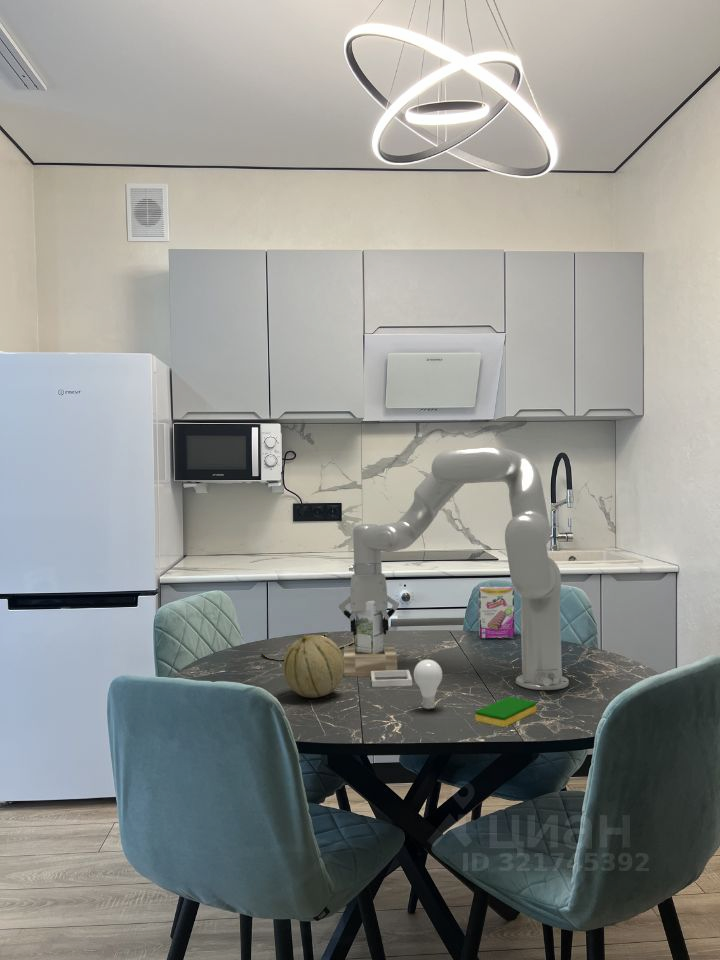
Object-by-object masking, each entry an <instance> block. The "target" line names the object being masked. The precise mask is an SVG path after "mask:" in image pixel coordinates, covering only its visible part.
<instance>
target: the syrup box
mask: <svg viewBox="0 0 720 960" xmlns="http://www.w3.org/2000/svg"><path fill="white" fill-rule="evenodd" d="M365 603H366V611H365V612H358V613H357V614H356V616H355V620H356V635H355V646H356V652H358V653H364V654H377V653H380V652H382V651H383V645H384V634H383V618H384V616H383V614H382V613H381V612H376V602H375V601H368V602H365Z"/></svg>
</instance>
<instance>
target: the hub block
mask: <svg viewBox="0 0 720 960" xmlns="http://www.w3.org/2000/svg"><path fill="white" fill-rule="evenodd" d="M343 657H344V662H345V669H344V675H343V677H344V676H345V677H368V676H369V677H371V671H387V670H398V656H397V651H396V647H395V645H394V644H383V651H382V652H380V653H377V654H364V653H358V652H356V645H350V646H344V648H343Z"/></svg>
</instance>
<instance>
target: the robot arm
mask: <svg viewBox="0 0 720 960" xmlns="http://www.w3.org/2000/svg"><path fill="white" fill-rule="evenodd" d="M479 483H480V484H481V483H505V484H506V486H507V487H508V488H507V489H508V497H509V505H510V509H511V517H512V518H511V519H510V520H509V521H508V523H507V524H506V527H505V530H504V543H505V549H506V556H507V562H508V568H509V576H510V580H511V584H512V586H513V587H512V588H513V589H514V591H515V592H516V593H517V594H518V595H519V596H521V597H520V633H521V634H520V638H521V639H520V641H521V671H522V672H521V674H519V675H518V676H517V677H516V678H515V682H516V685H518V686H519V687H521V688H524V689H528V690H536V691H538V690H539V691H554V690H555V691H556V690H561V689H562V690H563V689H565V688H568V686H569V684H570V683H569V682H570V681H569V678H567V677H565V676H563V669H562V668H563V666H562V664H563V663H562V662H563V661H562V636H561V635H562V634H561V633H562V632H561V631H562V630H561V590H562V589H561V588H562V576H561V572H560V568H559V565H557V562H555V561H554V559H553V558H550V557H549V553H548V547H547V545H548V543H549V542H550V540H551V535H552V531H551V526H550V525H551V524H550V521H549V517H548V516H549V515H548V510H547V503H546V499H545V495H544V488H543V487H544V486H543V483H542V478H541V475H540V472H539V470H538V468H537V467H536V465H535V463H534V462H533V461H532V459H530V458H529V457H528V456H527V455H524V454H523V453H520V452H518V451H515V450H512V449H509V448H508V449H507V448H503V447H491V446H489V447H482V448H481V447H479V448H469V449H451V450H445V451H442V452H439V453H438V454H437V455H436V456H434V459H433V460H432V463H431V472H430V473H429V474H428V475H426V477H425V478H424V479H423V480H422V481H421V482H420V483H419V484H418V485H417V487H415V489H414V492H413V501H412V503H411V505H410V507H409V508H408V510H407V511H406V512H405V513H404V514H403V515H402V516H401V517H400V518H399V519H398V521H396V522H393V523H392V522H391V523H386V524H385V523H384V524H380V525H379V524H374V523H369V524H368V523H367V524H366V523H365V524H363V523H362V524H357V525H355V526H354V527H353V529H352V536H353V537H352V538H353V540H352V541H353V564H351V565H349V566H348V571H351V572H353V574H352V575H351V577H350V586H349V587H350V589H349V591H350V592H349V593H350V594H349V597H347V598H346V599H345V600H343V601H342V602H341V603H340V604H338V608H339V609H340V611H341V612H342V613H343V615H344V616H345V617H346V618H347V619H348V620H349V621H350V633H353V636H356V614H357V613H358V612H365V611H366V603H365V602H368V601H375V602H376V612H381V613H382V614H383V636H384V635H387V632H388V631H389V620H390V618H391V617H392V616H393V615H394V614H395V612H396V611H397V609H398V608H399V606H400V603H399V602H397V600H395V599H393V598H392V597H391V596H389V595H388V589H387V588H388V587H387V586H388V585H387V580H386V579H387V578H386V575H385V573H383V570H382V553H383V552H384V553H393V552H394V553H395V552H398V551H402V550H405V549H407V548H409V547H411V546H412V545H413V544H415V542H416V541H417V540H418V539H419V538H420V536H421V535H423V534H424V532H425V531H426V530H427V529H428V528H429V527H430V526H431V524H432V522H433V521H434V520H435V518H436V517H437V515H438V514H439V512H440V511H441V509H443V508H444V506H445V505H447V503H449V501H450V500H451V499H452V498H453V496H455V495H456V494H457V493H458V491H460V489H461V488H462V487H463V486H464V485H466V484H479ZM389 604H391V605H392V606H391V608H390V609H389V610H388V605H389ZM348 605H349V607H350V610H351V612H350V611H349V610H348V609H347V608H346V606H348ZM387 610H388V611H387Z"/></svg>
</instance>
